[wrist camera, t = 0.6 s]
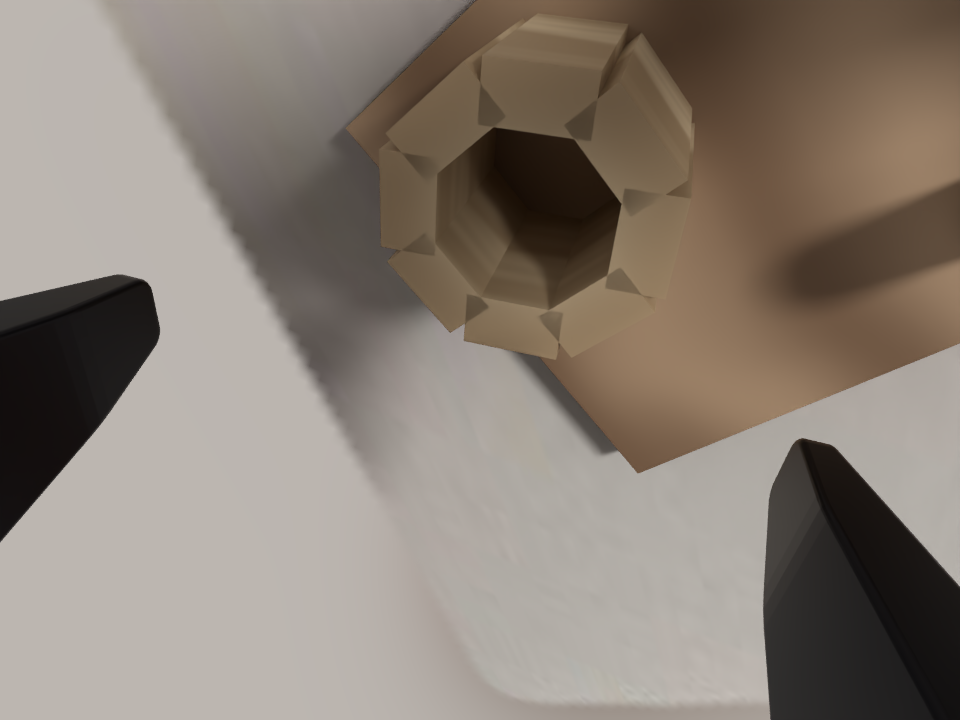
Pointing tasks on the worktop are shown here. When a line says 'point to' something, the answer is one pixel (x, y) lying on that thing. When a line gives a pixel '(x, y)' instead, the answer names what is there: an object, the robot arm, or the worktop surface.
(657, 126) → the wooden octagonal holder
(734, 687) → the worktop surface
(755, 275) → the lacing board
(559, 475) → the worktop surface
